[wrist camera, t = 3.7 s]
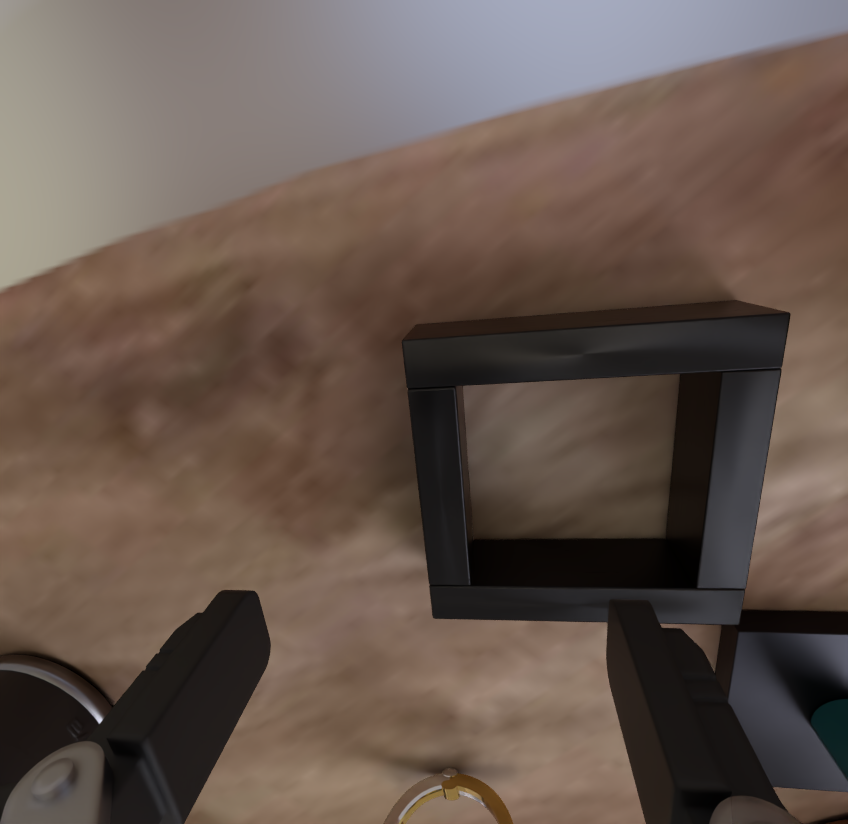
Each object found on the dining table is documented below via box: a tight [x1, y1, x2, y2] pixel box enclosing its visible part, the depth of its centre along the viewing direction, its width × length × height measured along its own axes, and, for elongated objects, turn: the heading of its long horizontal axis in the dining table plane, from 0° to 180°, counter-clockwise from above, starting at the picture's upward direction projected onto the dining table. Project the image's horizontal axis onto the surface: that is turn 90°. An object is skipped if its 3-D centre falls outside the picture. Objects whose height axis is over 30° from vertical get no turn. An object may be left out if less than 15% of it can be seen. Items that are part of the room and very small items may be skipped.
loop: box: [402, 300, 790, 625], centre depth 17 cm, size 11×11×3 cm
